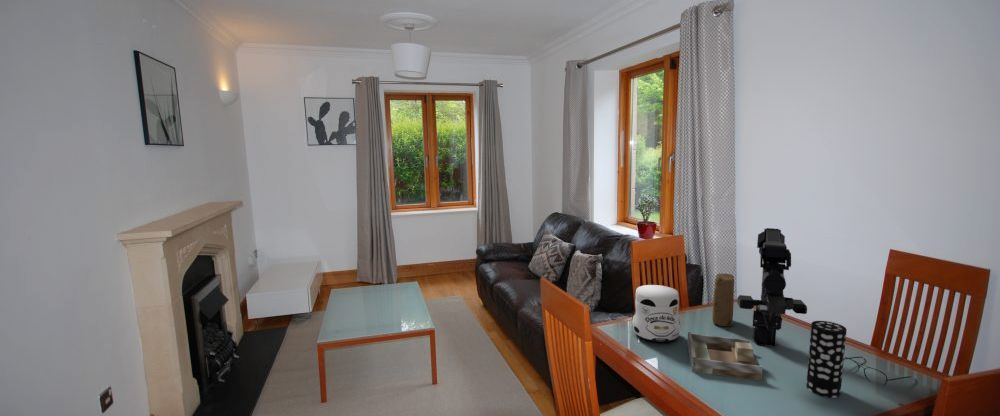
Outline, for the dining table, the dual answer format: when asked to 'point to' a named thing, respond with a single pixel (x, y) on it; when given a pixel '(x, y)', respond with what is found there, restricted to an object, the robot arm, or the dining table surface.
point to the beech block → (743, 352)
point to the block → (723, 300)
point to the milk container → (656, 313)
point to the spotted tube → (826, 358)
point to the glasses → (872, 368)
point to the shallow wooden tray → (720, 357)
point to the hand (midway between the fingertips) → (769, 329)
